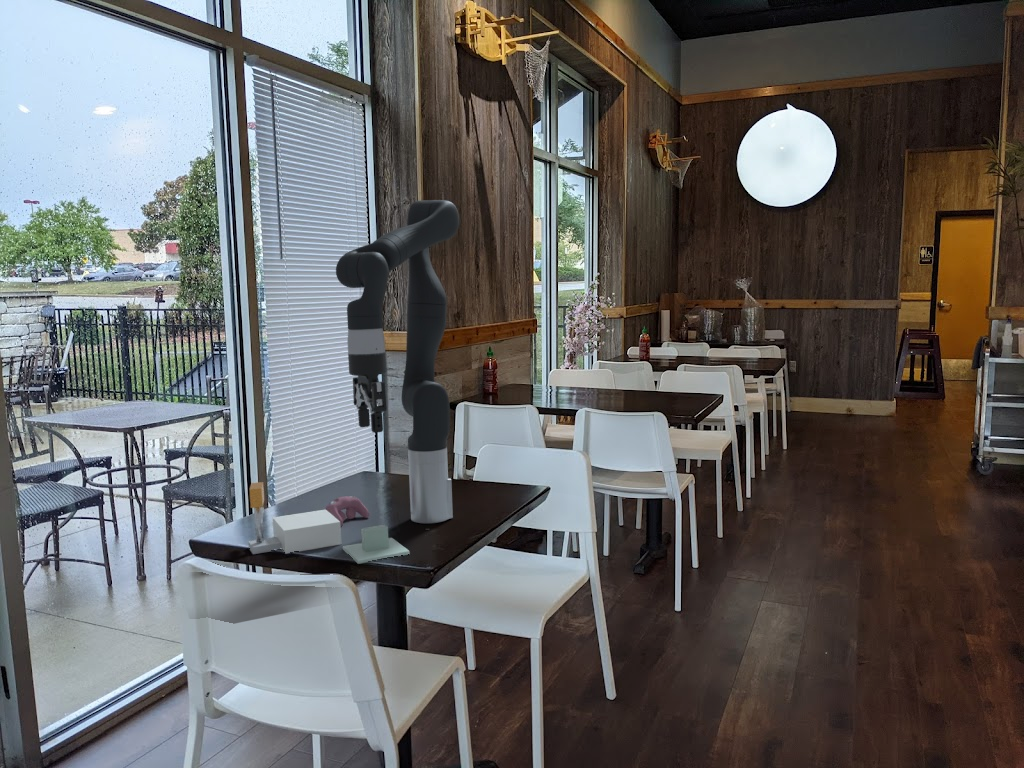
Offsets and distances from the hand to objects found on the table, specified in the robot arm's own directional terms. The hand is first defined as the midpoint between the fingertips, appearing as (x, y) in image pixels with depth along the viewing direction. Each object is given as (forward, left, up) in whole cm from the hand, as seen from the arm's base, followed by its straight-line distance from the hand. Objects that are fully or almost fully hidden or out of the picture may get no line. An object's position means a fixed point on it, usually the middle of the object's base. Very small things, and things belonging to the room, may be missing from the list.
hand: (370, 429), depth 166 cm
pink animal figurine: (-1, -26, -26) cm, 37 cm away
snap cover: (0, 0, -27) cm, 27 cm away
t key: (+21, -16, -24) cm, 36 cm away
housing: (+14, -15, -26) cm, 33 cm away
